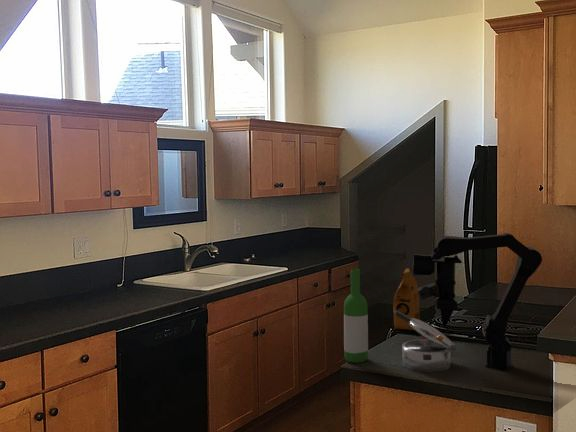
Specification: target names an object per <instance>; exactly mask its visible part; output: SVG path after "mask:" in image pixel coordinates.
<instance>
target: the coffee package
mask: <svg viewBox="0 0 576 432" xmlns="http://www.w3.org/2000/svg"><path fill="white" fill-rule="evenodd" d="M399 276H400V277H402V278H403V279H402V280H401V282H400V284H399V285H398V288H397V290H396V292H395V294H394V299H393V326H394V328H395V329H396V330H397V329H398V330H399V329H401V330H407V331H415V330H414V329H413V328H412V327H411V326H410V325H409V323H408V322H406V321H405V320H403V319H401V318H400V317H398V316H396V315H395V312H396V311H397V310H398V311H399V312H401V313H403V314H405V315H406V316H408V317H410V318H415V319H418V320H420V295H419V292H418V288H419V287H418V282H417V280H416V278H415V276H413V272H411V271H410V268H408V267H407V268H405V270H404V271H403V272H401V273H400V274H399Z"/></svg>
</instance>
